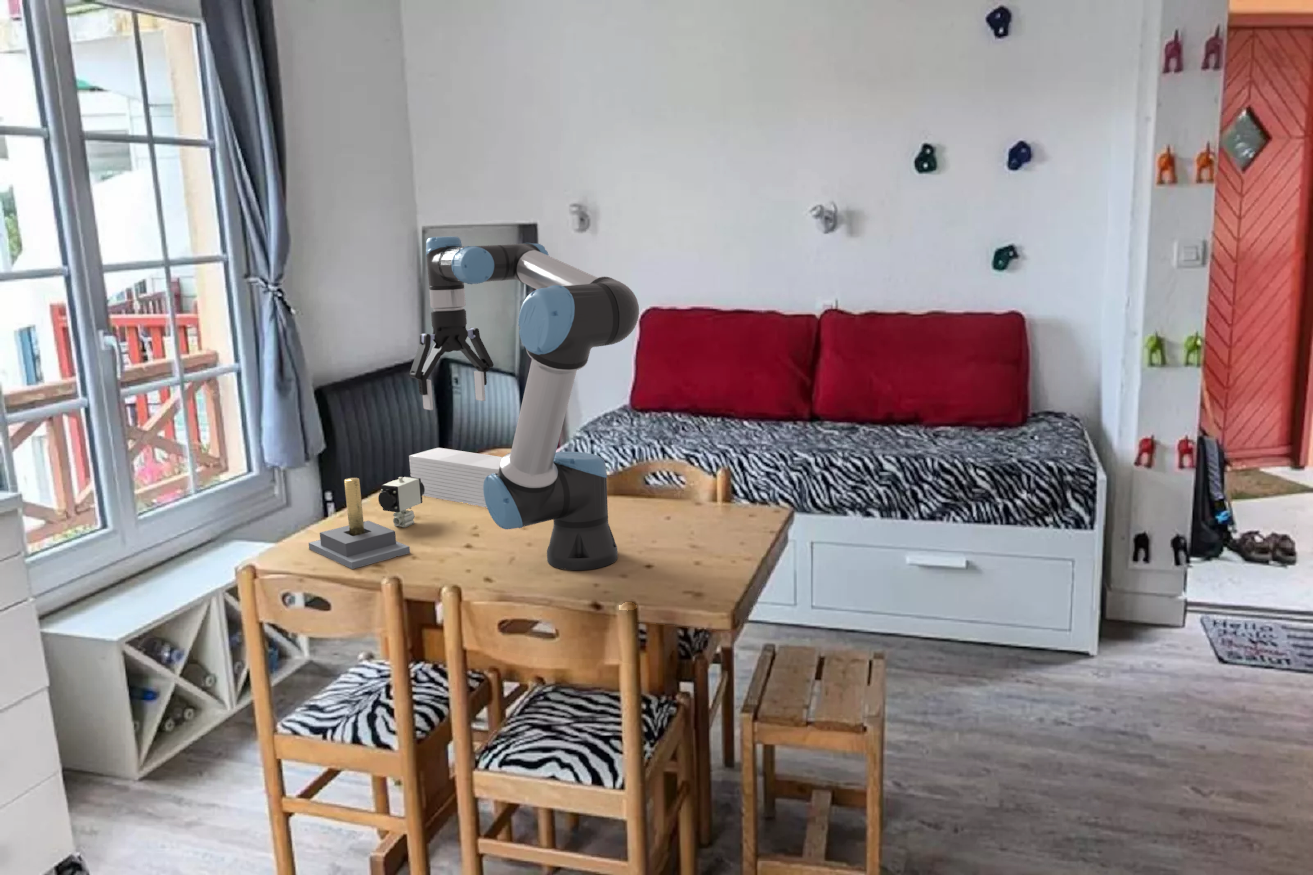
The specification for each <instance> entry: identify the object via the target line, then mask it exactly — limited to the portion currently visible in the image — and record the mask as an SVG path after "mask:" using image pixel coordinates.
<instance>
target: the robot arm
mask: <svg viewBox="0 0 1313 875" xmlns="http://www.w3.org/2000/svg"><path fill="white" fill-rule="evenodd" d="M425 241H426V242H425V243H426V244H425V245H426V247H425V248H426V249H425V251H426V253H425V257H426V264H427V265H426V267H427V275H428V276H427V279H428V289H429V301H430V302H429V303H430V308H431V309H432V310H431V311H430V320H431V327H432V334H430V333H423V332H422V333H420V335H419V345H418V348H417V351H416V353H415V356H414V359H413V363H412V365H411V369H410V371H409V373H408V374H409V377H410V378H413V379H416V380H417V381H418V391H419V395H422V404H423V406H422V407H423V409H424V410H427V411H433V410H434V404H433V388H432V380H431V379H429V377H430V375H431V373H432V372H433V370H434V368H435V367H436V365H437V364H438V362H439V361H440V358H441V357H442V356H443V355H444V354H445V353H451V352H453V351H454V352H455V351H456V352H458V351H461V353H462V354H463V356H465V357H466V359H467V360H468V361H469V363H471V364H472V365H473V367H475V369H476V370H475V371H473V378H474V391H475V392H474V394H475V395H474V396H475V401H481V402H485V401H486V391H485V390H486V389H485V386H487V383H488V382H487V377H488V376H487V372H488V371H490V369H491V368H493V367H494V362H493V361H492V358H491V356H490V354H489V352H488V350H487V348H486V346H485V344H484V343H483V340H482V338H481V335H480V329H479V327H478V328H476V327H469V328H468V329H467V327H466V326H467V323H468V320H467V310H466V309H465V307H466V293H465V291H466V290H465V284H467V285H473V284H474V285H477V284H479V285H480V284H483V283H486V282H499V281H500V282H501V281H519V282H521V283H523V284H525V285H527V286H529V287H531V288H532V289H534V290H533V291H532V292H530V293H529V294H528V295H526V298H525V299H524V300H523V302H522V305H521V306H520V307H521V308H520V310H519V314H518V320H517V321H518V326H519V328H520V329H519V331H518V334H519V339H520V341H521V344H522V345H523V346H524V348H525V350H526V354H527V355H528V356H529V358H531V362H530V366H529V372H528V375H527V379H526V382H525V383H526V384H525V388H524V391H523V392H524V393H523V398H522V402H521V406H520V409H519V415H518V420H517V424H516V429H515V432H514V437H513V441H512V445H511V450H510V452H508V453H506V454H505V455H504V456H502V457H503V458H502V460H501V463H500V468H499V472H498V473H496V474H494V473H492V474H491V475H488V476H487V477H486V478H485V480H484V484H483V493H484V499H485V503H486V506H487V507H486V509H487V511H488V513H489V515H490V518H492V520H493V522H494V523H495V525H497V526H498V527H500V529H504V530H513V529H521V528H524V527H529V526H532V525H536V524H540V523H544V522H548V521H552V520H553V526H552V531H551V536H550V540H549V544H548V546H547V550H546V559H547V560H546V561H547V563H548V565H549V566H552V567H553V568H557V569H561V570H567V571H587V570H594V569H595V570H596V569H600V568H604V567H607V566H610V565H611V564H613V563H615V562H616V561H617V560H618V556H619V554H618V546H617V543H616V540H615V537H614V534H613V532H612V529H611V527H610V523H609V516H608V514H609V513H608V511H609V509H608V505H609V504H608V482H607V481H608V480H607V479H608V475H607V474H608V473H607V467H606V462H605V460H604V458H602V456H599V455H598V454H595V453H589V452H581V451H557V448H558V444H559V441H560V437H561V435H562V434H561V433H562V429H563V425H564V420H565V418H566V413H567V409H568V406H569V402H570V398H571V395H572V394H571V393H572V390H573V386H574V383H575V378H576V374H577V371H578V370H581V369H583V368H584V367H586V366H587V363H588V361H589V356H590V353H591V350H592V348H597V347H598V348H599V347H604V346H605V347H606V346H610V345H615V344H618V343H620V342H622V341H624V340H625V339H626V338H627V337H629V335H630V334H632V332H633V331H634V329H635V328H636V325H637V323H638V321H639V316H640V307H639V302H638V299H637V296H636V295H635V293H634V292H633V290H632V289H631V288H630V287H629V286H627V285H626V284H625V283H623V282H621V281H619V280H616V279H614V278H612V277H609V276H599V277H597V276H595V275H593V274H590V273H588V272H586V271H583V270H581V269H579V268H577V267H575V266H573V265H570V264H568V263H565V262H564V261H561V260H559V259H557V258H554V257H552V256H550V255H549V253H548V250H546V248H545V246H544V245H543V244H541V243H534V242H533V243H531V242H522V243H512V244H511V243H510V244H494V245H493V244H491V245H490V244H488V245H470V246H469V245H467V246H466V245H464V246H463V245H462V240H461V238H460V237H458V236H431V237H428V238H427V239H426V240H425ZM468 338H469V340H470V342H471V345H472V346H473V348H474V350H475V351H473V349H472V348H471V346H470V344H469V343H468V342H467V341H466V340H467V339H468ZM433 343H434V345H433V346H432V348H431V344H433ZM430 348H431V352H430V353H429V351H430Z"/></svg>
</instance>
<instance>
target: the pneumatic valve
mask: <svg viewBox="0 0 1313 875" xmlns="http://www.w3.org/2000/svg"><path fill="white" fill-rule="evenodd" d="M424 492H425V488H424V485H423V483H422V482H421V478H414V477H411V476H404V477H403V476H399V477H398V479H395V480H392V481H388V482H387V483H384V484H381V485H380V493H379V494H378V503H379V506H380V507H381V508H382V511H385V512H392V513H393V514H392V516H393V519H392V522H393V526H394V527H396V528H397V527H402V528H403V529H404V528H407V527H410V526H411V525H414V524H415V520H414V519H415V514H414V510H411V509H412V507H416V506H418V505H421V504H423V496H422V495H423V494H424ZM408 509H410V510H408Z"/></svg>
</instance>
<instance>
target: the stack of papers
mask: <svg viewBox="0 0 1313 875" xmlns="http://www.w3.org/2000/svg"><path fill="white" fill-rule="evenodd" d="M503 457H504V456H497V455H491V454H484V453H479V452H478V453H477V452H469V451H464V450H463V451H462V450H456V449H450V448H443V447H436V448H435V447H434V448H432V449H428V450H424V451H421V452H418V453H414V454H410V455H408V459H409V460H408V461H409V470H410V471H409V474H410V477H414V478H421V482H422V483H423V485H424V488H425V492H424V494H423V495H422V497H428V498H434V499H440V500H444V501H451V502H456V503H460V502H463V503H462V504H465V503H468V504H467V505H470V506H471V505H472V506H476V505H478V506H477V507H483V508H487V506H486V503H485V499H484V493H483V484H484V480H485V478H486V477H487V476H488V475H491V474H492V473H494V474H496V473H498V472H499V468H500V463H501V460H502V458H503Z"/></svg>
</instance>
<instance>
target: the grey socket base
mask: <svg viewBox="0 0 1313 875" xmlns="http://www.w3.org/2000/svg"><path fill="white" fill-rule="evenodd" d="M363 522H364V532H365V533H364V534H360V535H356V536H351V535H350V532H349V524H348V525H345V526H340V527H337V528H333V529H329V530H325V531H320V532H319V540H314V541H310V542H308V549H309V550H310V549H311V550H310V551H313V552H314V553H317V554H319V555H321V556H323V557H325V558H328V559H329V560H332V561H334V562H337V563H338V564H340V565H343V566H344V565H345V567H346V568H349V569H351V570H353V569H357V568H361V567H364V566H368V565H372V564H375V563H376V564H377V563H379V561H380V562H382V561H386V560H389V559H393V558H396V556H398V557H400V556H404V555H407V554H410V553H411V548H410V546H409V545H406V544H404V543H402V542H400V541H397V538H396V531H395V530H393V529H391V528H388V527H386V526H383V525H380V524H378V523H375V522H373V521H371V520H365V521H363Z"/></svg>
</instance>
